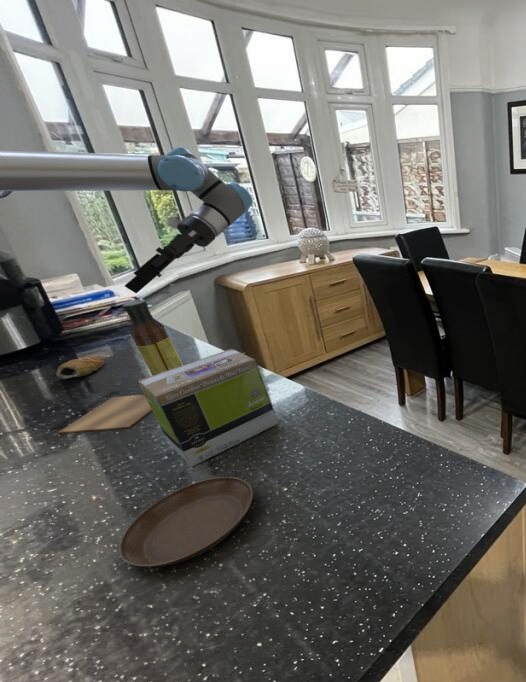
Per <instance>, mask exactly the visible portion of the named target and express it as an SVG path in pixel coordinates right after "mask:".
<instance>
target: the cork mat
mask: <svg viewBox="0 0 526 682" xmlns="http://www.w3.org/2000/svg"><path fill="white" fill-rule="evenodd" d="M152 412H153V411H152V409H151V407H150V405H149V403H148V401H147V399H146V397H145V395H144V394H135V395H123V396H121V395H120V396H112V397H111V398H109V399H108V400H106V401H105V402H102V404H100V405H98V406H96V407H95V408H94V409H92V410H91V411H89V412H87V413H86V414H84V415H83V416H81V417H80V418H78V419H76V420H75V421H73V422H72V423H70V424H69V425H67V426H65V427H64V428H63V429H61V430H59V431H58V434H70V433H71V434H72V433H85V432H98V431H111V430H113V431H114V430H123V429H130V428H132V427H133V426H134V425H136V424H137V423H138V422H140V421H141V420H143V418H145V417H147V415H149V414H150V413H152Z"/></svg>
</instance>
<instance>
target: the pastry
mask: <svg viewBox="0 0 526 682" xmlns="http://www.w3.org/2000/svg"><path fill="white" fill-rule="evenodd" d="M105 363H106V361H105V359H104V357H103V356H95V355H89V356H87V357H86V356H84V357H79V358H73V359H70V360H68V361H67V362H64V363H62V364H60V365H59V366H58V367H57V370H56V373H55V376H56V377H57V378H60V380H69V379H73V378H81V377H85V376H88V375H90V374H92V372H94V371H98V370H99V369H100V368H102V367H103V366H104V365H105Z"/></svg>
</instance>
